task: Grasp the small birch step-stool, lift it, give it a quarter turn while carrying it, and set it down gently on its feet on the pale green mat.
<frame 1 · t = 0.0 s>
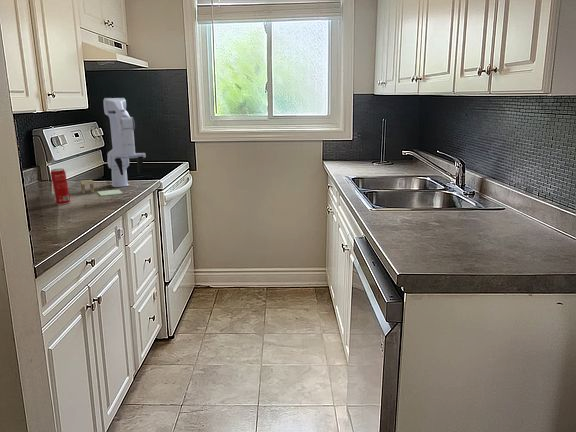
hand: (130, 174, 227), 10 cm above the worktop, tool pointing down, fingers open, 7 cm apart
stool: (87, 192, 237), on the worktop
mat: (110, 193, 236), on the worktop
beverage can: (62, 204, 214), on the worktop
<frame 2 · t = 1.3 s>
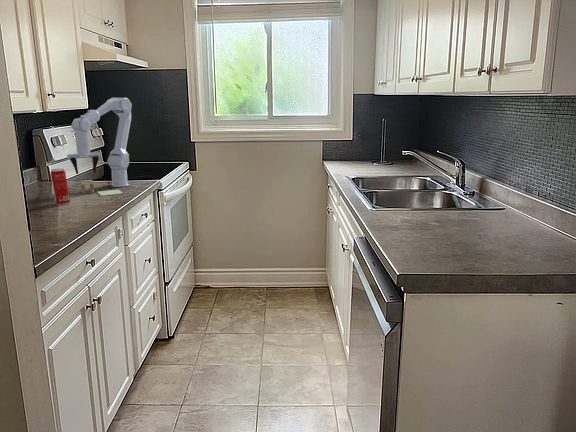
hand: (85, 173, 235), 9 cm above the worktop, tool pointing down, fingers open, 7 cm apart
nothing on the worktop moved.
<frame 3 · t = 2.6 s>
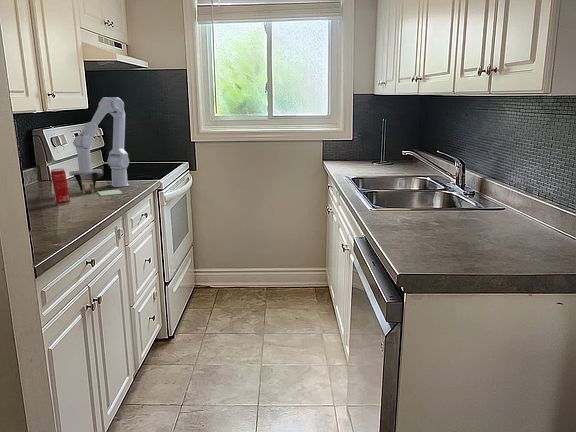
hand: (87, 189, 237), 1 cm above the worktop, tool pointing down, fingers closed on stool, 5 cm apart
stool: (87, 192, 237), on the worktop, touching gripper
everything else where it was.
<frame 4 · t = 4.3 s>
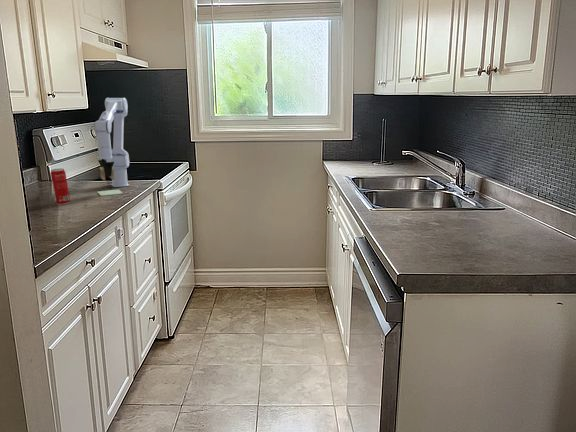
hand: (107, 175, 234), 8 cm above the worktop, tool pointing down, fingers closed on stool, 5 cm apart
stool: (107, 178, 234), point 7 cm above the worktop, touching gripper
everything else where it was.
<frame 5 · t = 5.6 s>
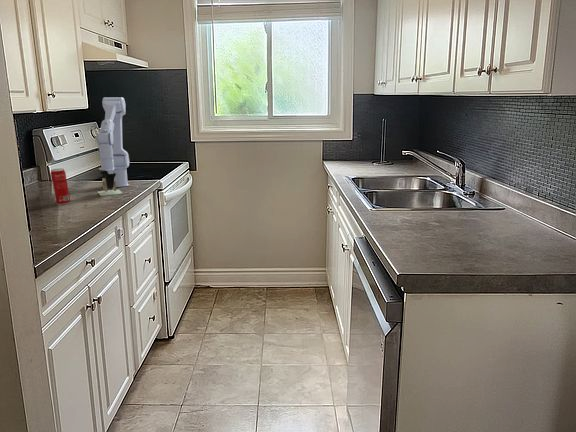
hand: (109, 186, 235), 3 cm above the worktop, tool pointing down, fingers closed on stool, 5 cm apart
stool: (109, 190, 235), point 1 cm above the worktop, touching gripper
everything else where it was.
when the fingers open (3 cm above the worktop, at t = 6.3 s): stool stays where it is, resting on mat.
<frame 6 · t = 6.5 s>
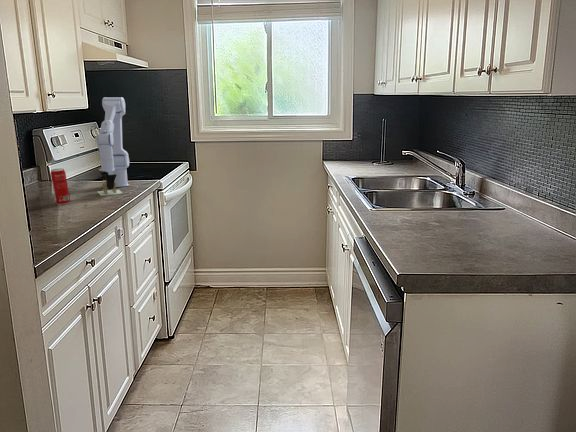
hand: (109, 187, 235), 3 cm above the worktop, tool pointing down, fingers open, 7 cm apart
stool: (109, 192, 236), resting on mat
everything else where it was.
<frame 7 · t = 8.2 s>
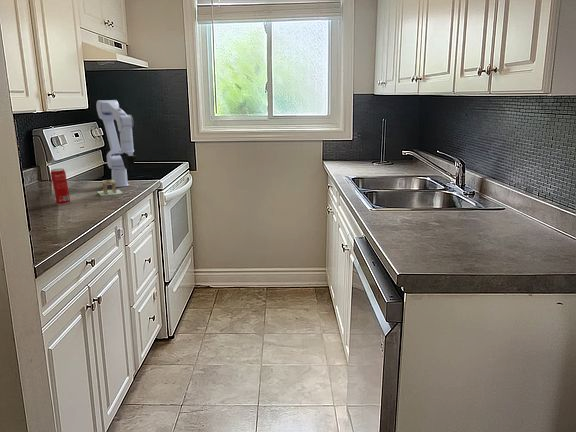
hand: (129, 169, 239), 10 cm above the worktop, tool pointing down, fingers open, 7 cm apart
nothing on the worktop moved.
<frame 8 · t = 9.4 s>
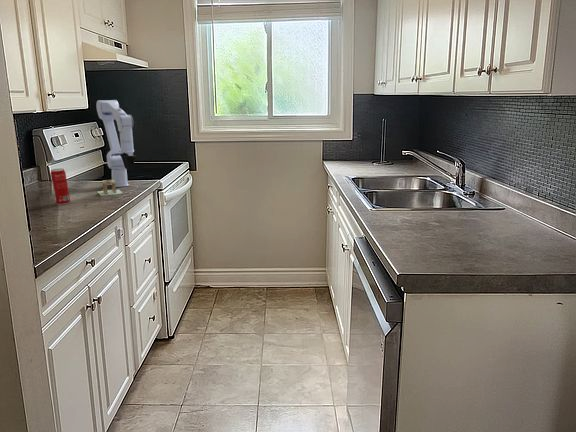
hand: (129, 169, 239), 10 cm above the worktop, tool pointing down, fingers open, 7 cm apart
nothing on the worktop moved.
at the end: stool 0.1 cm from the mat (horizontally); stool tilted 0°; the gripper is holding nothing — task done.
